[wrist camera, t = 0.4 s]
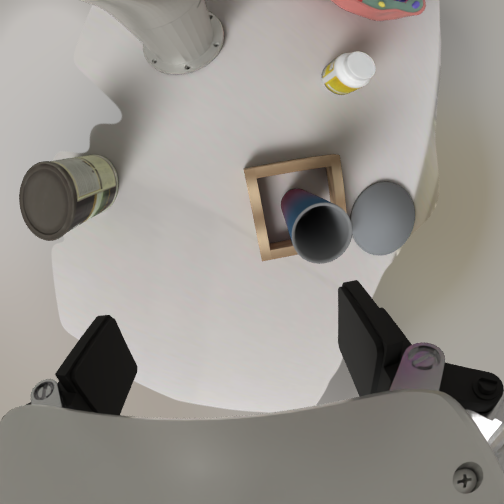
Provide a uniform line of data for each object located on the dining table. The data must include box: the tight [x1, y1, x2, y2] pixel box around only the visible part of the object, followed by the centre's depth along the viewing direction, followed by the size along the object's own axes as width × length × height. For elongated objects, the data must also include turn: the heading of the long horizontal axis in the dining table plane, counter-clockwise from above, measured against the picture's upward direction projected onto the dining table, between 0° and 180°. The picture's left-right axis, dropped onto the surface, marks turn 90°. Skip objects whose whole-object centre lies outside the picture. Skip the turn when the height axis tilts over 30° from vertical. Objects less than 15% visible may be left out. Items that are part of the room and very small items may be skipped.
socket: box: [244, 154, 347, 261], centre depth 41 cm, size 14×14×3 cm
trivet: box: [350, 182, 415, 255], centre depth 44 cm, size 13×13×1 cm
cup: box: [281, 189, 352, 264], centre depth 36 cm, size 7×7×15 cm
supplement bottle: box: [321, 51, 376, 95], centre depth 31 cm, size 5×5×10 cm
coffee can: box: [19, 154, 118, 241], centre depth 33 cm, size 10×10×14 cm
